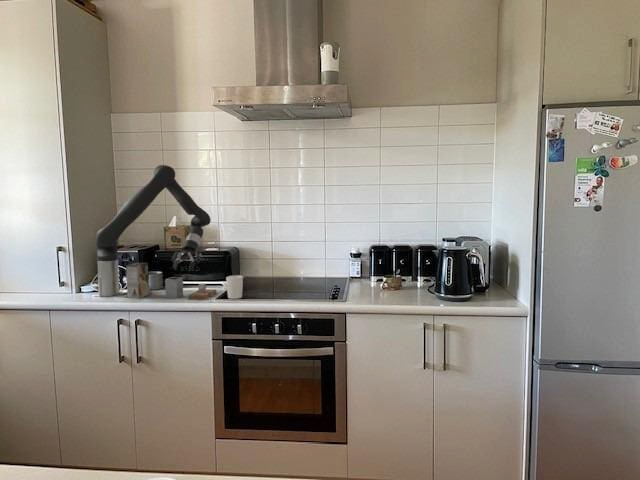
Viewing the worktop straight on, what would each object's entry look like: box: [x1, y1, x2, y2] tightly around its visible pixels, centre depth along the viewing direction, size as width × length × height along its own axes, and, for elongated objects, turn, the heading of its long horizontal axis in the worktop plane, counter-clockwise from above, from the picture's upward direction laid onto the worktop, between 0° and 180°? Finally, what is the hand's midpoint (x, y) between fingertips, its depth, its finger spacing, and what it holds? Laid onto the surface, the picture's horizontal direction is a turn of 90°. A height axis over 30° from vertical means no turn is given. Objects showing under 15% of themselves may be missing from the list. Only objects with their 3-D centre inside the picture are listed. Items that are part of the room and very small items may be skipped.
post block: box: [187, 283, 217, 301], centre depth 219 cm, size 14×8×6 cm, turn 170°
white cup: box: [225, 275, 244, 300], centre depth 217 cm, size 8×8×10 cm
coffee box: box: [125, 262, 150, 300], centre depth 219 cm, size 9×6×16 cm
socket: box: [164, 276, 184, 299], centre depth 218 cm, size 6×6×9 cm
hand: (182, 268), depth 226 cm, fingers open, 8 cm apart
